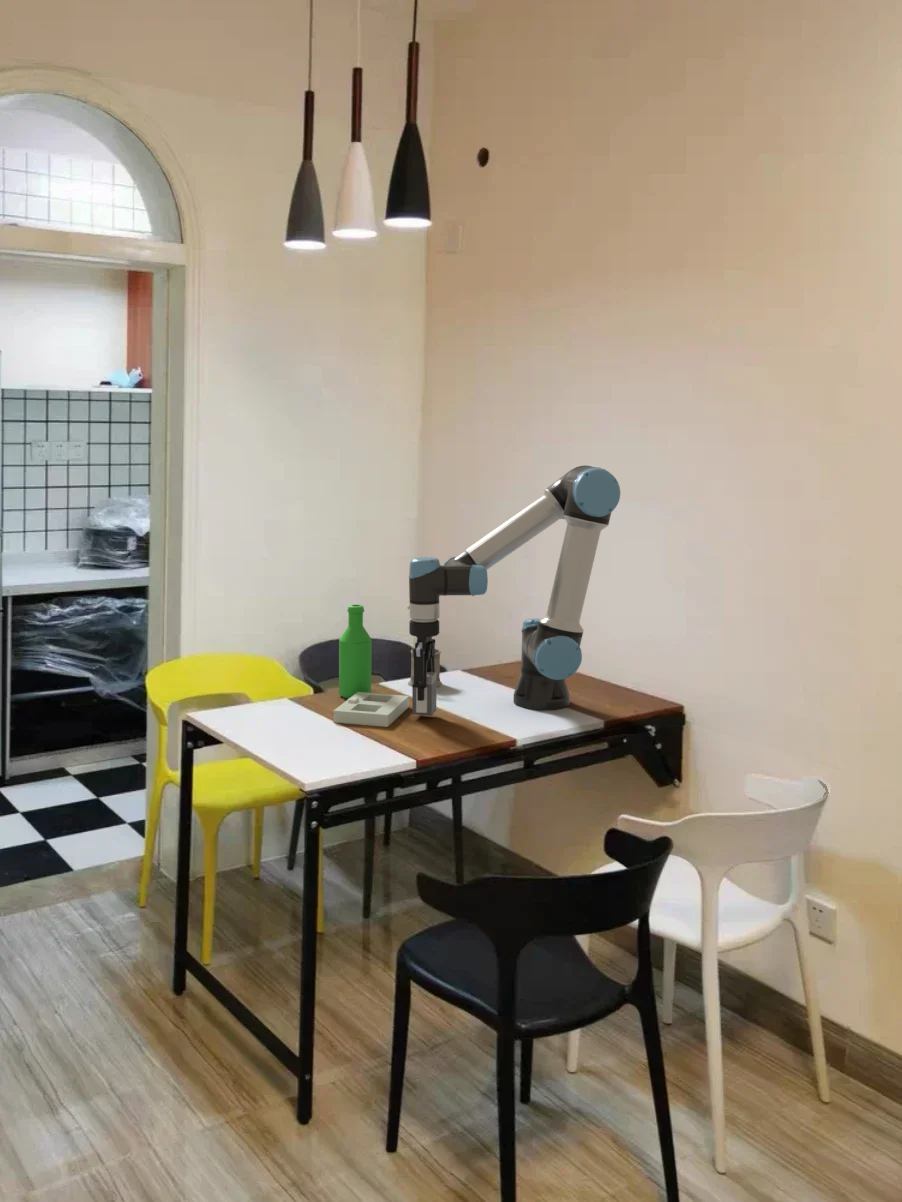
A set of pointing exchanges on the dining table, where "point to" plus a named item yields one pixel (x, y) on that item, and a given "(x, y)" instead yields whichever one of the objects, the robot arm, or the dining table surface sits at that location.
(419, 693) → the robot arm
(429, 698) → the plug
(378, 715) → the socket plate
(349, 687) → the bottle
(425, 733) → the dining table surface
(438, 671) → the mug
